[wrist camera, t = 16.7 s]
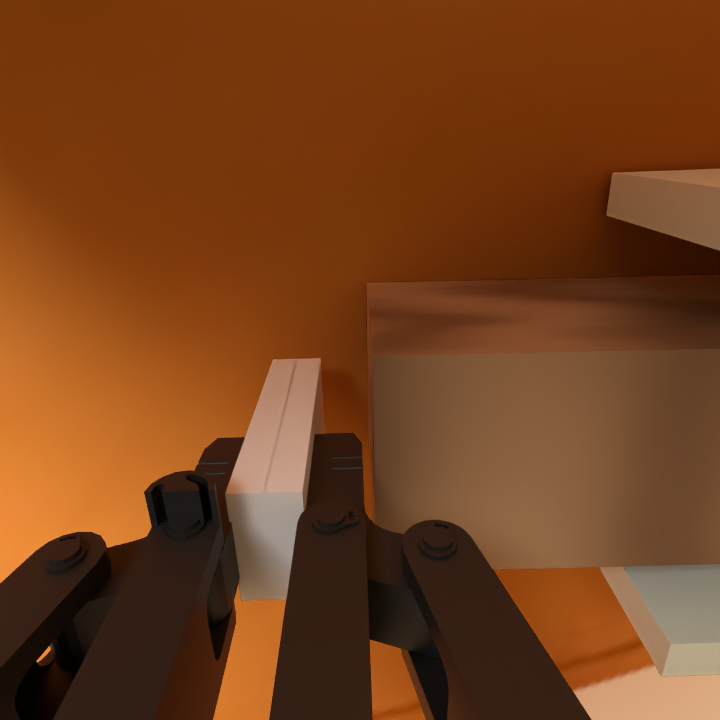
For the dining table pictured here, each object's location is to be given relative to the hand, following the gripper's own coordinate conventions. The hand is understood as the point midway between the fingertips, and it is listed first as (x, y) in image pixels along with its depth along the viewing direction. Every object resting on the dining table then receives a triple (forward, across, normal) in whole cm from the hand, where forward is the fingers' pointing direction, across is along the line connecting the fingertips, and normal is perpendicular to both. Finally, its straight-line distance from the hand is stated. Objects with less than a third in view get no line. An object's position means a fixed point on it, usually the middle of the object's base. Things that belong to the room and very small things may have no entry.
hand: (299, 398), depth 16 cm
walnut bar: (+2, +9, 0) cm, 9 cm away
